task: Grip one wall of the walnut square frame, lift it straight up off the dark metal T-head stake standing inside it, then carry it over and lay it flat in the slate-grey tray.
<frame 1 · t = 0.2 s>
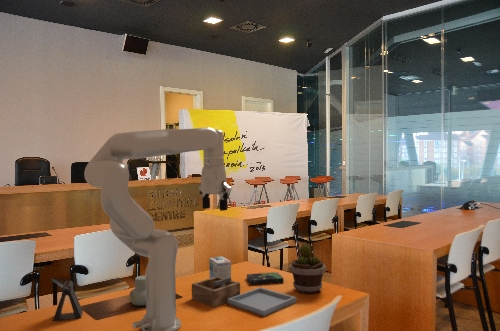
hand: (214, 209, 150), 36 cm above the table, tool pointing down, fingers open, 9 cm apart
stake: (222, 300, 156), on the table
frame: (216, 298, 159), on the table
flowerpot: (307, 290, 168), on the table
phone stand: (68, 317, 142), on the table
light bulb box: (220, 284, 178), on the table
disk drive: (264, 282, 181), on the table
tray: (261, 303, 153), on the table
air freshener: (143, 304, 155), on the table
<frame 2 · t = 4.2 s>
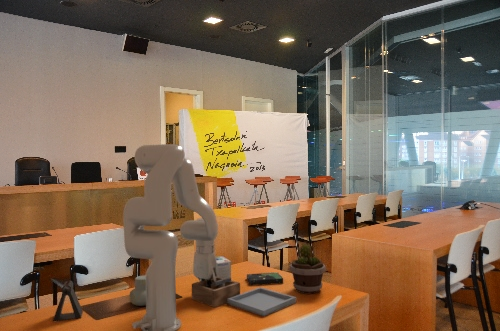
hand: (205, 294, 163), 0 cm above the table, tool pointing down, fingers closed on frame
frame: (216, 298, 159), on the table, touching gripper
everything else where it was.
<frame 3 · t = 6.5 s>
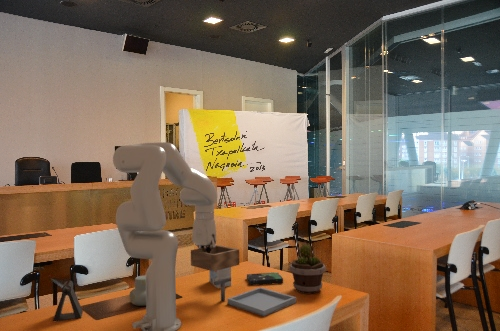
hand: (205, 261, 163), 14 cm above the table, tool pointing down, fingers closed on frame
frame: (215, 265, 158), point 13 cm above the table, touching gripper
everything else where it was.
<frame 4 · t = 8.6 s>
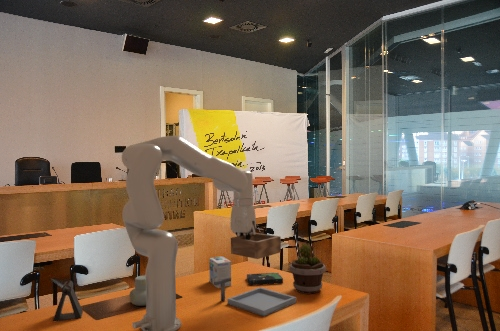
hand: (244, 249, 158), 19 cm above the table, tool pointing down, fingers closed on frame
frame: (255, 252, 154), point 19 cm above the table, touching gripper
everything else where it was.
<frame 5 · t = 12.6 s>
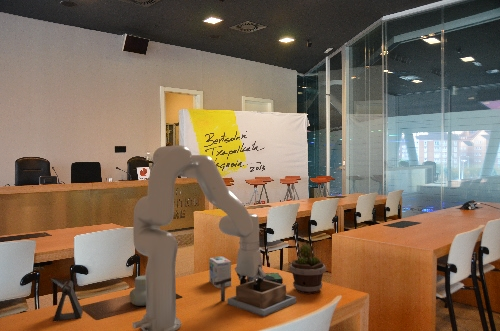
hand: (250, 291, 157), 3 cm above the table, tool pointing down, fingers open, 6 cm apart
frame: (261, 301, 153), point 1 cm above the table, touching tray
everything else where it was.
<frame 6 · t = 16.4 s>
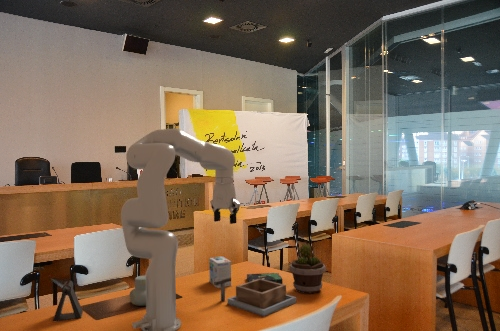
hand: (225, 222, 169), 28 cm above the table, tool pointing down, fingers open, 9 cm apart
nothing on the table moved.
at the end: frame 0.4 cm off-centre on the tray, point 0.6 cm above the tray's base; frame tilted 0°; the gripper is holding nothing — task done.
